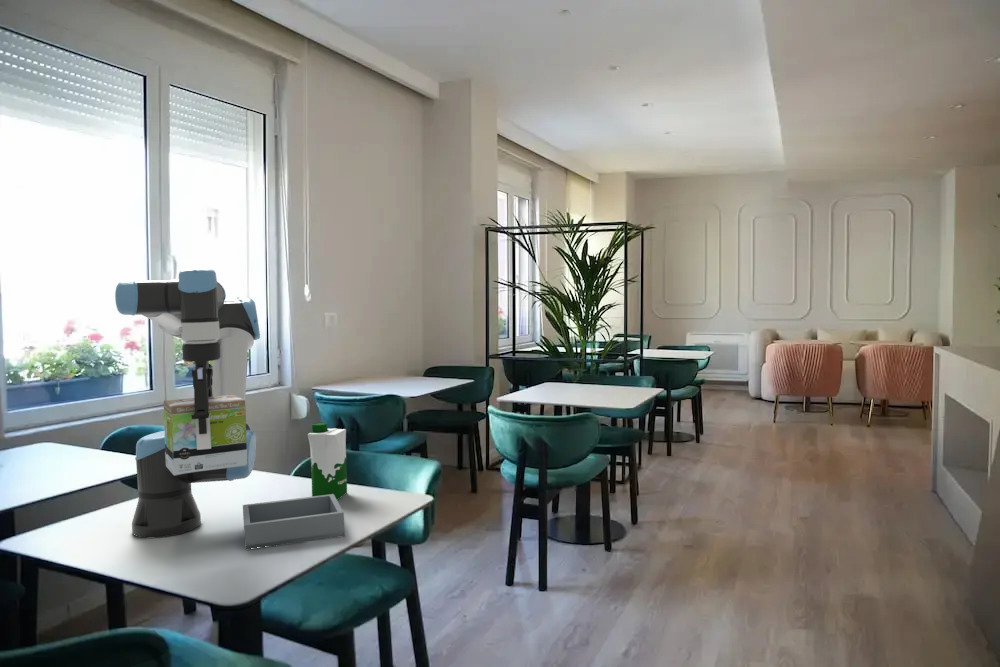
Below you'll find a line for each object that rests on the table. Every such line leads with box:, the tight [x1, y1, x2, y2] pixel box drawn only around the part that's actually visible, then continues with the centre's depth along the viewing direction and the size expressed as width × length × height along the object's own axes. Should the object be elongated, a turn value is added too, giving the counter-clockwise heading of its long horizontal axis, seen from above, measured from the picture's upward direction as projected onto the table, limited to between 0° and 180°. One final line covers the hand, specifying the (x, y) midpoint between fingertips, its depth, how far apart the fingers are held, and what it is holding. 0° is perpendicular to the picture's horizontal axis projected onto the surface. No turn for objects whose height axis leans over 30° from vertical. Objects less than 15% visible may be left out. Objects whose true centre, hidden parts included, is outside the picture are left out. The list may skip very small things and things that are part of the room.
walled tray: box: [242, 494, 345, 550], centre depth 173 cm, size 16×21×6 cm
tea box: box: [163, 395, 247, 476], centre depth 159 cm, size 15×10×15 cm, turn 123°
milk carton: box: [307, 421, 348, 500], centre depth 201 cm, size 9×9×20 cm
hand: (206, 443), depth 159 cm, fingers closed on tea box, 11 cm apart
